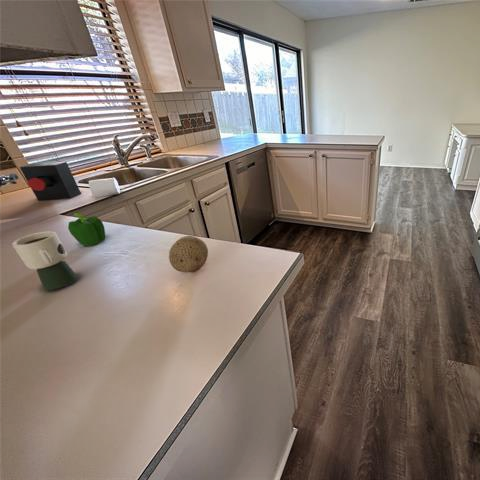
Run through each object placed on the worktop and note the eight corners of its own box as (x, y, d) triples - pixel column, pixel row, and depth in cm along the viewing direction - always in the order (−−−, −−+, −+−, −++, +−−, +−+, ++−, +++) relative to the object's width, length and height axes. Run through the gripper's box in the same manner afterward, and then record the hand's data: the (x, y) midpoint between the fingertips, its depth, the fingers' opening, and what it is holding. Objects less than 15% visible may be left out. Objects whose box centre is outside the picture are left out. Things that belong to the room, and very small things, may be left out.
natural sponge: (209, 280, 65) (199, 244, 60) (170, 285, 63) (157, 249, 59) (214, 261, 73) (206, 228, 68) (180, 265, 71) (169, 232, 67)
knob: (46, 190, 119) (39, 177, 116) (32, 191, 118) (25, 178, 115) (55, 186, 124) (49, 174, 122) (42, 187, 123) (35, 175, 121)
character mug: (86, 285, 64) (60, 238, 58) (47, 301, 59) (14, 251, 53) (75, 270, 70) (50, 226, 64) (39, 283, 66) (9, 237, 60)
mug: (119, 195, 129) (112, 179, 126) (94, 199, 125) (86, 182, 122) (122, 189, 139) (116, 174, 135) (99, 192, 135) (92, 177, 131)
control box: (71, 198, 127) (54, 165, 120) (38, 201, 125) (19, 167, 118) (81, 193, 134) (66, 161, 127) (50, 195, 132) (33, 163, 125)
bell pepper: (113, 241, 85) (100, 212, 80) (81, 251, 80) (65, 221, 75) (105, 234, 90) (92, 207, 85) (75, 243, 84) (59, 215, 80)
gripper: (-10, 175, 92) (28, 165, 107) (-55, 178, 90) (-9, 168, 105) (2, 196, 96) (38, 183, 111) (-41, 199, 94) (2, 186, 109)
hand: (15, 176), depth 108 cm, fingers closed
